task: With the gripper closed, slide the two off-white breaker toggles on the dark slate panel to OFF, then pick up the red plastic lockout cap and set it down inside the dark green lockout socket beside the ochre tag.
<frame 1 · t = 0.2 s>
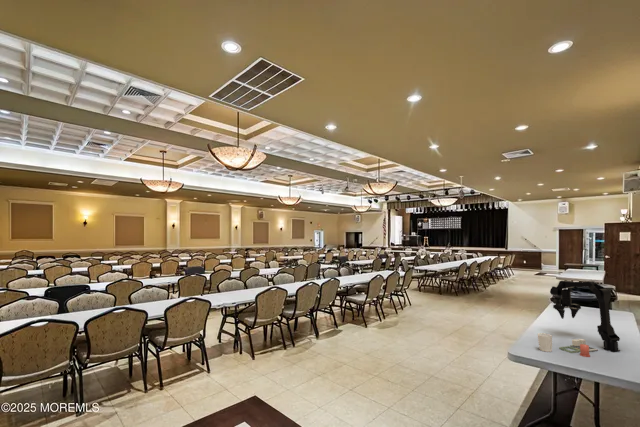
hand: (567, 318, 236), 14 cm above the table, fingers open, 9 cm apart
lockout cap: (585, 355, 199), on the table
toggle A: (581, 342, 215), point 3 cm above the table, slide at 0.0 cm
toggle B: (576, 342, 214), point 3 cm above the table, slide at 0.0 cm
lockout socket: (570, 350, 208), on the table
white cup: (545, 350, 209), on the table
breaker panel: (583, 348, 211), on the table
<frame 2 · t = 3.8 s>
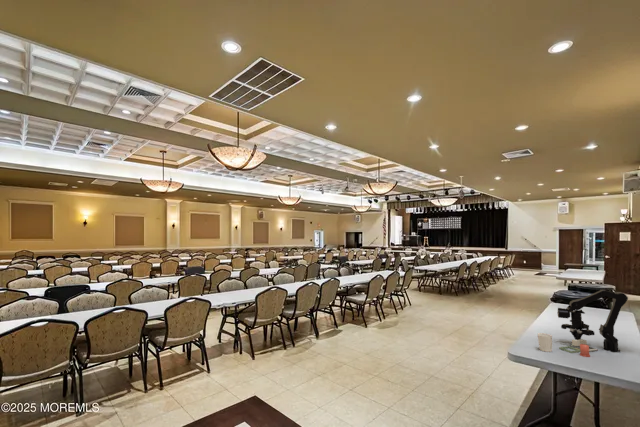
hand: (578, 342, 217), 3 cm above the table, fingers closed
toggle A: (582, 342, 214), point 3 cm above the table, slide at 0.7 cm, touching gripper
everything else where it was.
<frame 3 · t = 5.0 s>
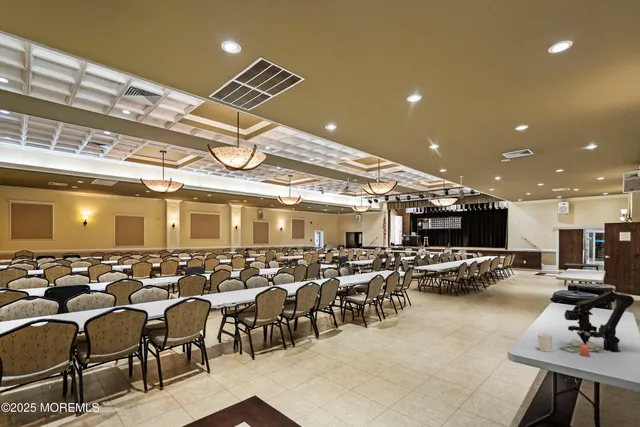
hand: (585, 344, 212), 3 cm above the table, fingers closed
toggle A: (590, 344, 210), point 3 cm above the table, slide at 5.7 cm, touching gripper
everything else where it was.
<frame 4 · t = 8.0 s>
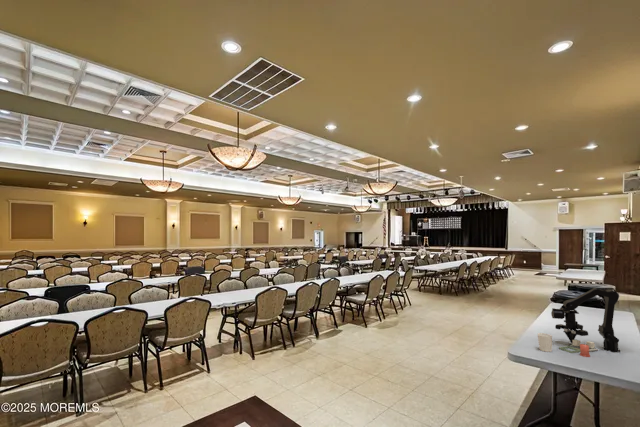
hand: (572, 342, 217), 3 cm above the table, fingers closed
toggle A: (590, 344, 210), point 3 cm above the table, slide at 5.7 cm
toggle B: (576, 342, 214), point 3 cm above the table, slide at 0.2 cm, touching gripper
everything else where it was.
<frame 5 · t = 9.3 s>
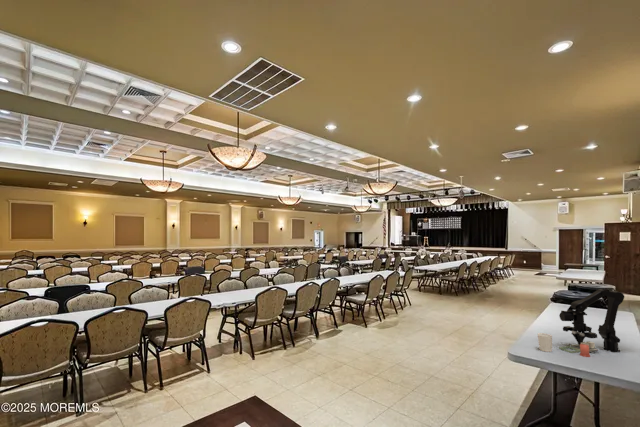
hand: (580, 345, 211), 3 cm above the table, fingers closed
toggle B: (584, 345, 208), point 3 cm above the table, slide at 5.7 cm, touching gripper
everything else where it was.
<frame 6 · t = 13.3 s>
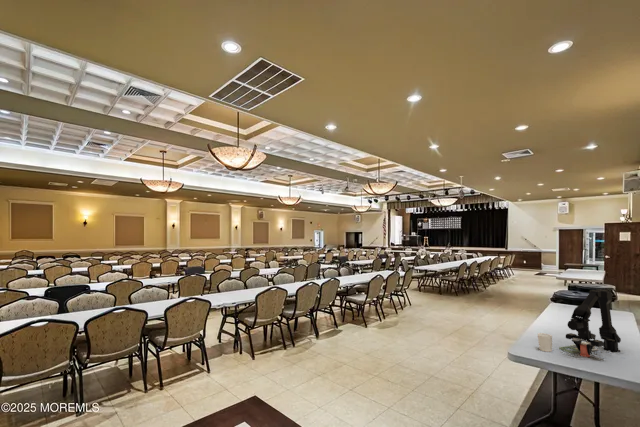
hand: (584, 353, 199), 1 cm above the table, fingers closed on lockout cap, 4 cm apart
lockout cap: (585, 355, 199), on the table, touching gripper
toggle B: (585, 345, 208), point 3 cm above the table, slide at 5.7 cm
everything else where it was.
when the fingers open (3 cm above the table, at t = 16.8 s): lockout cap drops 2 cm, resting in lockout socket.
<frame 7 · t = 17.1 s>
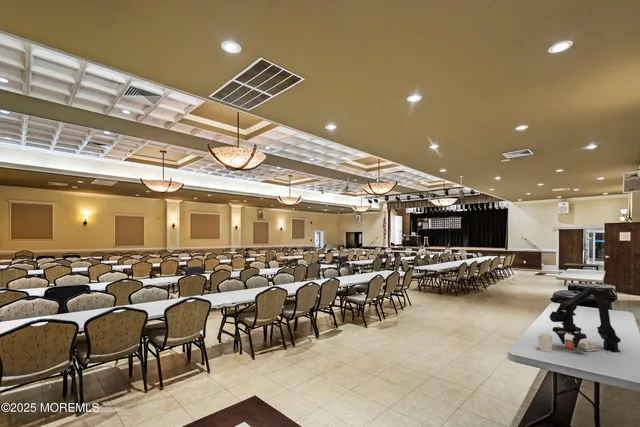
hand: (569, 345, 209), 3 cm above the table, fingers open, 8 cm apart
lockout cap: (570, 350, 208), resting in lockout socket
everything else where it was.
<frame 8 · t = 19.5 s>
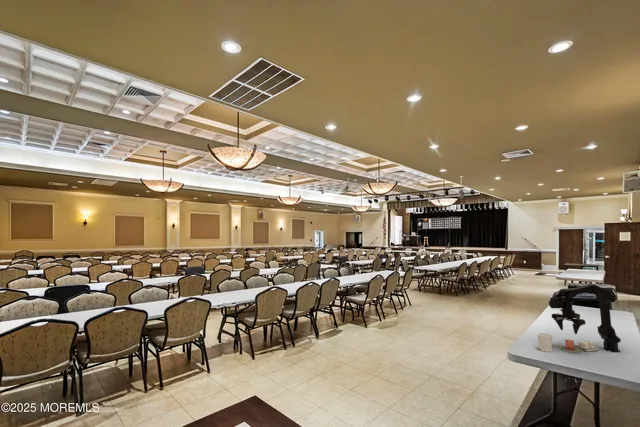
hand: (568, 332, 209), 12 cm above the table, fingers open, 9 cm apart
nothing on the table moved.
at the end: toggle A slide at 5.7 cm; toggle B slide at 5.7 cm; lockout cap 0.0 cm off-centre on the lockout socket, point 0.0 cm above the lockout socket's base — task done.
